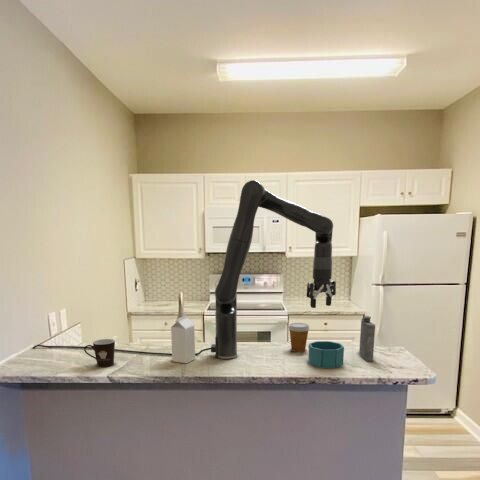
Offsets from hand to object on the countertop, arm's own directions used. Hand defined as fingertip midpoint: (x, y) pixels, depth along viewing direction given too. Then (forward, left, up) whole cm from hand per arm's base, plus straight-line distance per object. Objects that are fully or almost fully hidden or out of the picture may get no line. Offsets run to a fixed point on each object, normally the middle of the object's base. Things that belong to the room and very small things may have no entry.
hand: (320, 306), depth 169 cm
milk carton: (-58, -1, -23) cm, 62 cm away
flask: (+21, +5, -23) cm, 32 cm away
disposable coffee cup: (-7, +15, -23) cm, 29 cm away
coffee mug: (-91, -7, -23) cm, 94 cm away
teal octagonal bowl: (+2, -4, -23) cm, 24 cm away
